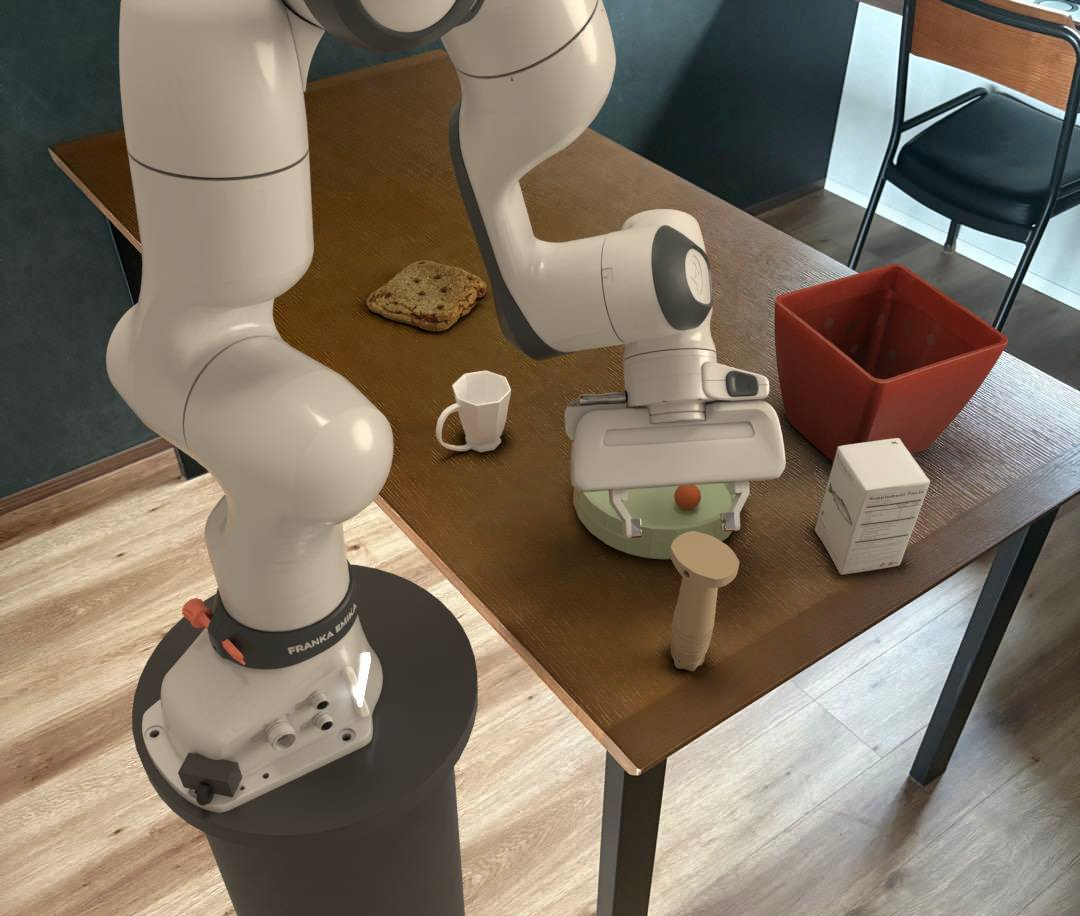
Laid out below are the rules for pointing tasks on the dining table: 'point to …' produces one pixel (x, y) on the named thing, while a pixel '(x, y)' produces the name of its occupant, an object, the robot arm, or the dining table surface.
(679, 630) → the handle
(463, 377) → the cup
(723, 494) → the bowl
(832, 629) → the dining table surface
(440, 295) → the pastry
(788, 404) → the flower pot
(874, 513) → the white packaging box
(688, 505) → the ball
